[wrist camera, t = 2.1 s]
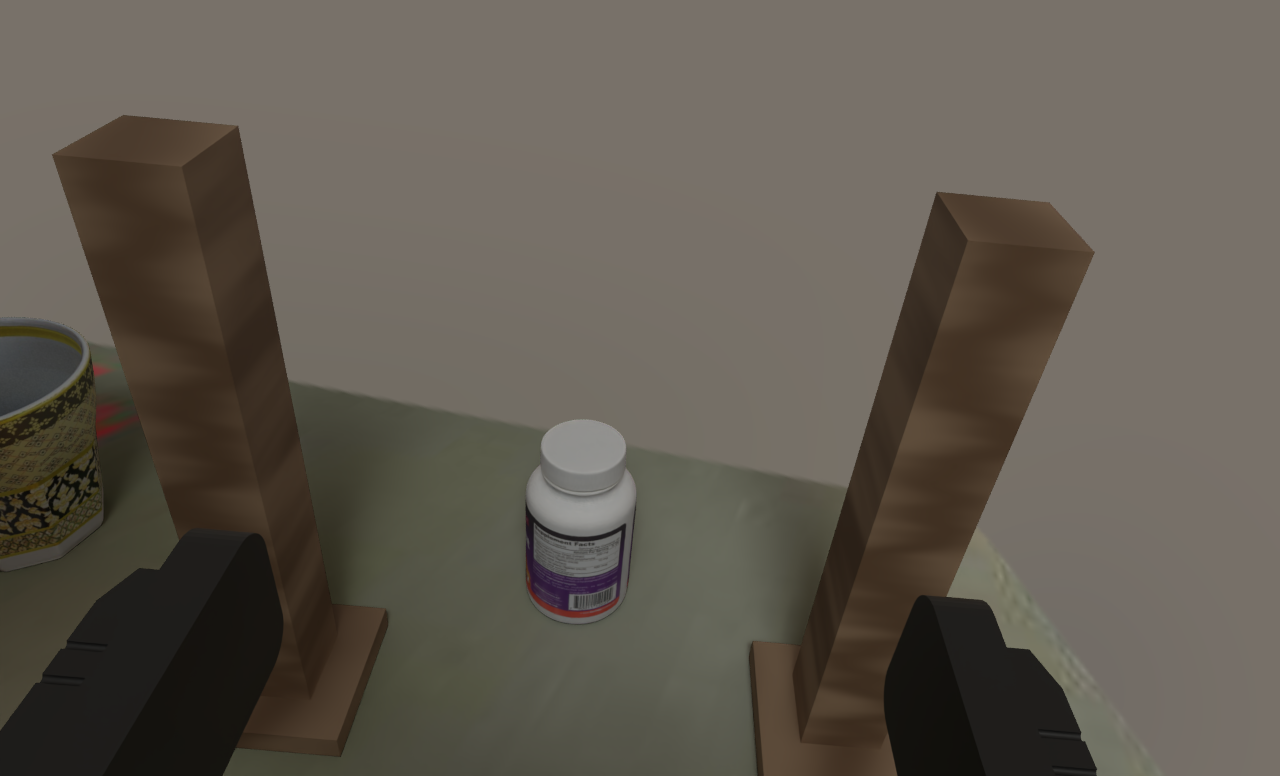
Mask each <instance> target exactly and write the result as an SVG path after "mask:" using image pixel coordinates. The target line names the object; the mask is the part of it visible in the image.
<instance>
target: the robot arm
mask: <svg viewBox="0 0 1280 776" xmlns="http://www.w3.org/2000/svg"><path fill="white" fill-rule="evenodd" d="M283 625H284V621H283V613H282V608H281V604H280V600H279V596H278V592H277V588H276V584H275V580H274V576H273V572H272V568H271V564H270V560H269V555H268V551H267V547H266V544H265V541H264V539H263V537H262V536H261V535H260V534H258V533H249V532H238V531H227V530H216V529H204V528H194V529H191V530H189V531H188V532H187V533H186V534H184V535H183V537H182V538H181V539H180V540H179V542H178V543H177V545H176V546H175V548H174V549H173V551H172V552H171V554H170V555H169V556H168V558H167V559H166V561H165V562H164V564H163V565H162V567H161V568H160V570H154V569H143V568H139V569H137V570H136V571H135V572H133V573H132V574H131V575H130V576H128V577H127V578H126V579H124V580H123V581H122V582H120V583H119V584H118V585H116V586H115V587H114V588H112V589H111V590H110V591H109V592H107V593H106V594H105V595H103V596H102V597H101V598H99V599H98V600H97V601H96V602H95V603H94V605H93V606H92V607H91V609H90V610H89V611H88V613H87V614H86V615H85V617H84V618H83V620H82V621H81V622H80V624H79V625H78V626H77V628H76V629H75V630H74V632H73V633H72V634H71V636H70V637H69V639H68V640H67V646H66V648H65V649H60V651H59V652H58V653H57V655H56V656H55V657H54V659H53V660H52V662H51V663H50V664H49V666H48V667H47V668H46V670H45V671H44V672H43V674H42V675H43V677H42V680H41V682H40V683H35V685H34V686H33V687H32V689H31V690H30V691H29V693H28V694H27V695H26V697H25V698H24V699H23V701H22V702H21V704H20V705H19V706H18V708H17V709H16V710H15V712H14V713H13V714H12V716H11V717H10V718H9V720H8V721H7V723H6V724H5V725H4V727H3V728H2V729H1V731H0V776H222V775H223V773H224V771H225V769H226V767H227V765H228V763H229V761H230V758H231V756H232V754H233V752H234V750H235V748H236V746H237V744H238V742H239V740H240V737H241V735H242V733H243V731H244V729H245V727H246V725H247V723H248V721H249V719H250V716H251V714H252V712H253V710H254V708H255V706H256V704H257V702H258V700H259V698H260V695H261V693H262V691H263V689H264V687H265V685H266V683H267V681H268V679H269V676H270V674H271V672H272V670H273V668H274V666H275V663H276V661H277V658H278V655H279V651H280V648H281V643H282V637H283ZM884 713H885V720H886V726H887V730H888V735H889V739H890V744H891V749H892V753H893V758H894V762H895V767H896V771H897V776H1096V770H1097V768H1096V766H1095V764H1094V761H1093V759H1092V757H1091V754H1090V752H1089V750H1088V747H1087V745H1086V743H1085V741H1082V740H1081V731H1080V729H1079V726H1078V724H1077V722H1076V719H1075V717H1074V715H1073V712H1072V710H1071V708H1070V705H1069V703H1068V701H1067V698H1066V696H1065V693H1064V691H1063V689H1062V688H1061V686H1060V685H1059V684H1058V683H1057V682H1056V681H1055V679H1054V678H1053V677H1052V676H1051V675H1050V674H1049V672H1048V671H1047V670H1046V669H1045V668H1044V666H1043V665H1042V664H1041V663H1040V662H1039V661H1038V659H1037V658H1036V657H1035V656H1034V655H1033V654H1032V652H1031V651H1030V650H1028V649H1017V648H1007V647H1006V645H1005V642H1004V639H1003V637H1002V634H1001V631H1000V629H999V626H998V624H997V621H996V618H995V616H994V613H993V611H992V609H991V608H990V606H989V605H988V604H987V603H986V602H985V601H983V600H974V599H963V598H952V597H941V596H930V595H921V596H919V597H918V598H917V599H916V600H915V602H914V604H913V607H912V609H911V612H910V614H909V617H908V619H907V622H906V624H905V627H904V629H903V632H902V634H901V637H900V639H899V642H898V644H897V647H896V649H895V652H894V654H893V657H892V659H891V662H890V664H889V667H888V670H887V673H886V677H885V684H884Z"/></svg>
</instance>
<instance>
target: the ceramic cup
mask: <svg viewBox="0 0 1280 776" xmlns="http://www.w3.org/2000/svg"><path fill="white" fill-rule="evenodd" d="M95 421H96V391H95V381H94V371H93V365H92V360H91V354H90V348H89V345H88V343H87V341H86V340H85V338H84V337H83V336H82V335H81V334H80V333H79V332H77V331H76V330H74V329H73V328H71V327H68V326H66V325H64V324H60V323H57V322H53V321H49V320H44V319H36V318H25V317H22V318H21V317H4V318H0V571H3V572H7V571H12V570H16V569H20V568H24V567H28V566H32V565H36V564H40V563H44V562H48V561H52V560H56V559H59V558H61V557H63V556H64V555H65V554H67V553H68V552H69V551H70V550H72V549H73V548H74V547H75V546H77V545H78V544H79V543H80V542H81V541H83V540H84V539H85V538H86V537H88V536H89V535H90V534H91V533H93V532H94V531H95V530H96V529H98V528H99V527H100V526H101V524H102V521H103V518H104V507H103V484H102V473H101V467H100V461H99V452H98V444H97V436H96V428H95Z"/></svg>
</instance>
